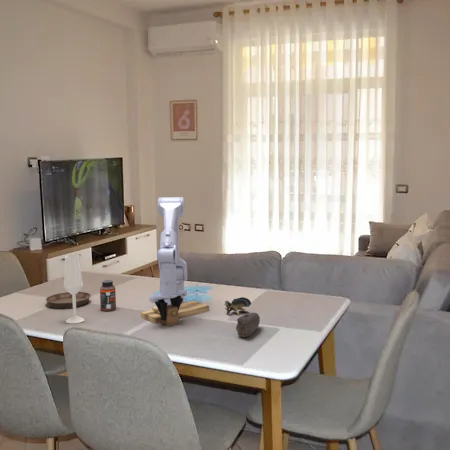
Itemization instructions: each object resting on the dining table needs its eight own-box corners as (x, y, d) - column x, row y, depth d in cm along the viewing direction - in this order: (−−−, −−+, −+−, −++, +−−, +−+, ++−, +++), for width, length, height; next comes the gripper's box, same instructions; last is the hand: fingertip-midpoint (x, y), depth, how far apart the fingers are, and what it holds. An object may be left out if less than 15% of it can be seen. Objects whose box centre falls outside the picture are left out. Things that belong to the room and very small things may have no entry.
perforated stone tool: (251, 326, 195) (251, 306, 195) (265, 328, 193) (265, 308, 192) (232, 339, 182) (232, 318, 181) (246, 341, 180) (246, 320, 179)
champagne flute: (65, 324, 201) (62, 258, 198) (65, 318, 207) (62, 254, 204) (85, 322, 203) (81, 256, 199) (84, 317, 209) (81, 253, 206)
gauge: (149, 317, 207) (148, 302, 206) (158, 315, 209) (158, 300, 208) (170, 326, 196) (169, 309, 195) (179, 324, 198) (179, 307, 198)
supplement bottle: (112, 311, 215) (111, 283, 214) (98, 311, 216) (96, 282, 215) (118, 307, 221) (117, 279, 219) (104, 307, 222) (103, 279, 221)
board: (141, 317, 207) (140, 312, 207) (193, 305, 222) (193, 300, 222) (155, 323, 200) (155, 318, 199) (209, 310, 215) (209, 305, 214)
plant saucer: (36, 308, 223) (36, 300, 222) (62, 297, 239) (61, 290, 239) (75, 311, 217) (75, 303, 217) (99, 299, 234) (98, 292, 234)
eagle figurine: (232, 315, 204) (254, 308, 207) (225, 297, 206) (246, 290, 209) (227, 321, 211) (248, 314, 214) (220, 304, 213) (241, 297, 216)
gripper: (156, 286, 190) (157, 325, 192) (191, 280, 199) (192, 317, 201) (145, 283, 196) (147, 320, 198) (180, 276, 205) (181, 312, 207)
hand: (169, 318), depth 200 cm, fingers closed on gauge, 4 cm apart
